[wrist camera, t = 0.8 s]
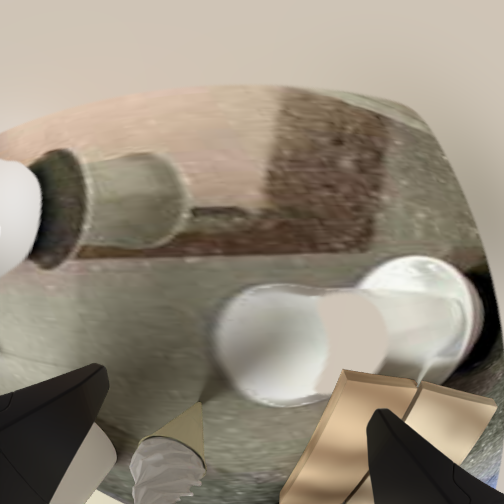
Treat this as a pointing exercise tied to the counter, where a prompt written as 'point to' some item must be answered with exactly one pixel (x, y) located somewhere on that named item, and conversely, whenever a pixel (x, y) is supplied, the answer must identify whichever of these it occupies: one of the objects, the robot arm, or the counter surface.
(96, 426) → the tall pillar cylinder
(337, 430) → the floor strip
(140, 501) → the ice cream cone
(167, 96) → the counter surface
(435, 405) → the oak plank
